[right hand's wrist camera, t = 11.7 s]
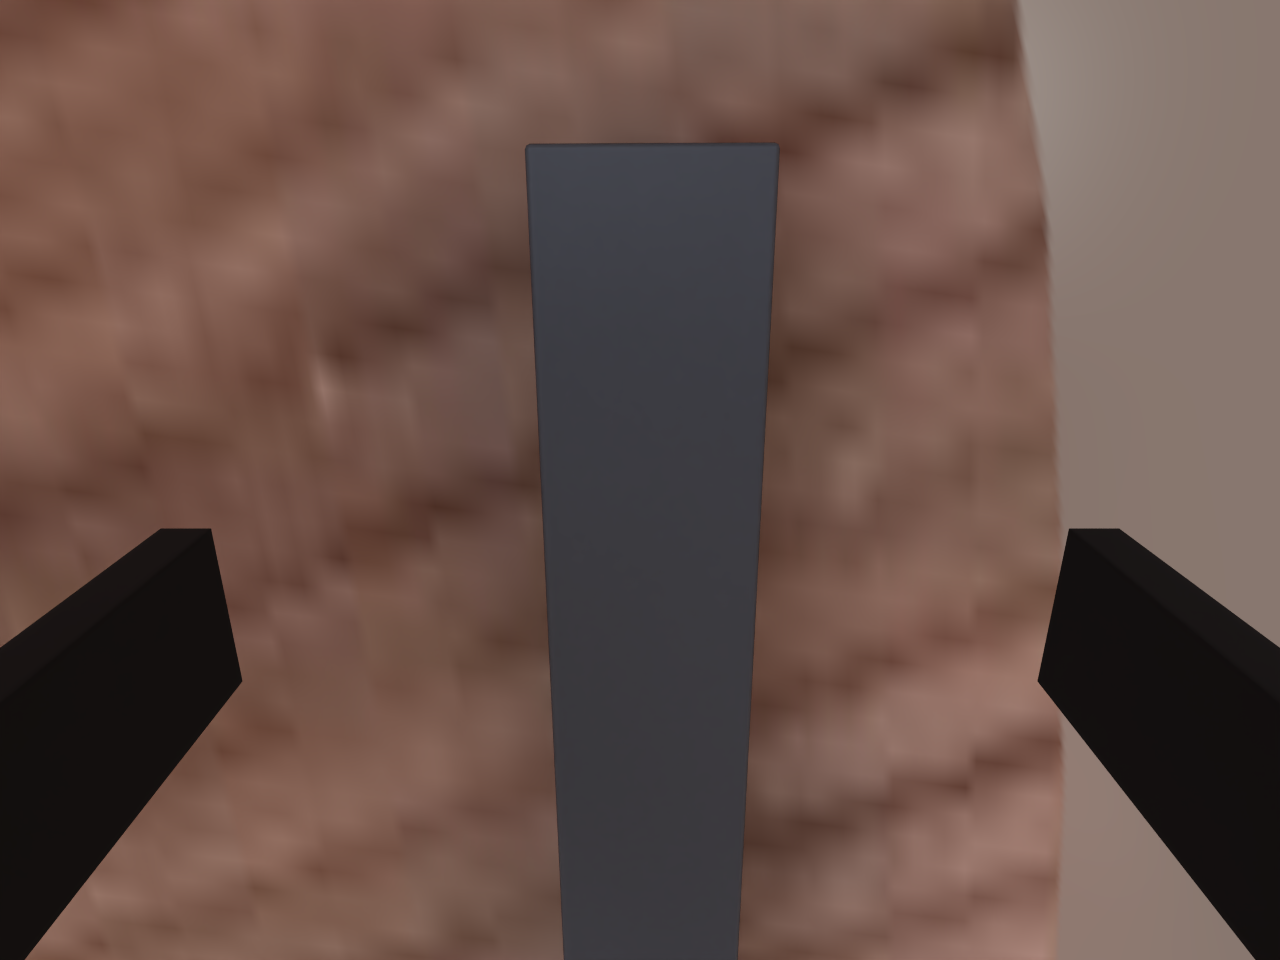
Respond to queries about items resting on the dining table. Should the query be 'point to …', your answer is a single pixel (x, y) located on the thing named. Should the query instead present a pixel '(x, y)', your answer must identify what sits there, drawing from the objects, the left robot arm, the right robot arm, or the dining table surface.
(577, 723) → the beam
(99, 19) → the dining table surface
